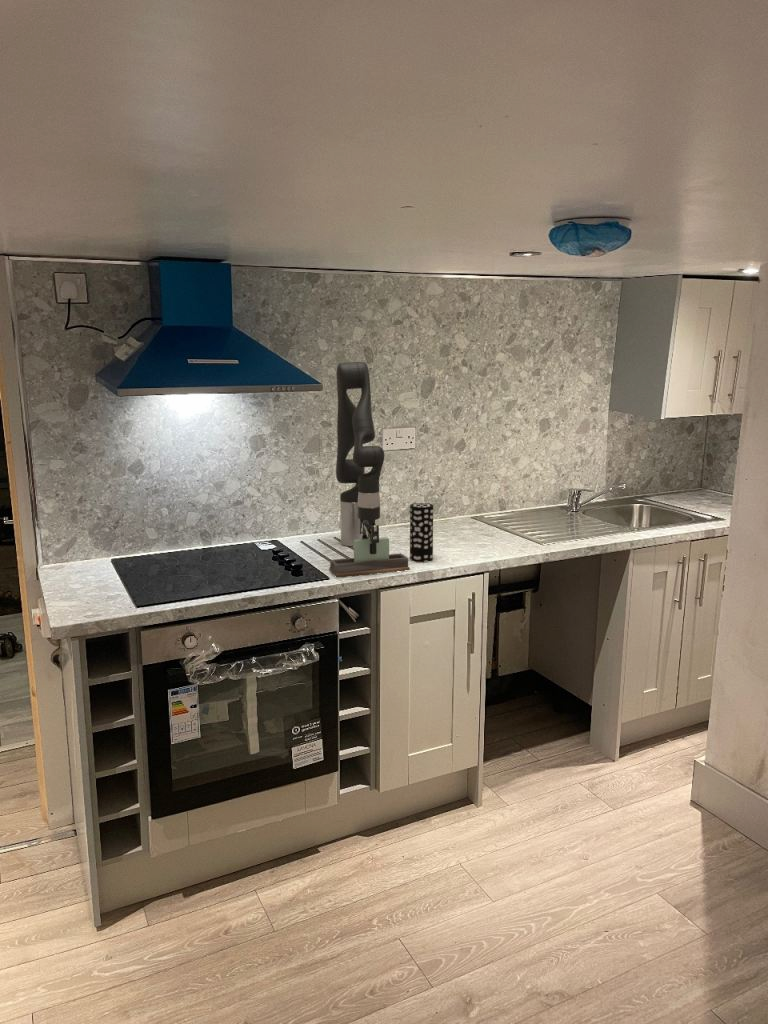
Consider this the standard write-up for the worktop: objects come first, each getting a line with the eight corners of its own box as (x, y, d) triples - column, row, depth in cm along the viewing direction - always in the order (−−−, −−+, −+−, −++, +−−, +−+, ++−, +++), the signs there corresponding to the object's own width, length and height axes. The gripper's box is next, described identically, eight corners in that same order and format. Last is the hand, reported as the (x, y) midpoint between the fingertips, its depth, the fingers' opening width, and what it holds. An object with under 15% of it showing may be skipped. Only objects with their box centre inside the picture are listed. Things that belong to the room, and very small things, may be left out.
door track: (329, 569, 269) (328, 558, 269) (399, 563, 278) (399, 552, 277) (336, 578, 260) (336, 566, 259) (409, 570, 268) (409, 559, 268)
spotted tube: (406, 557, 285) (406, 504, 280) (427, 555, 288) (427, 502, 283) (415, 563, 277) (415, 508, 273) (436, 561, 280) (437, 506, 276)
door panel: (353, 568, 268) (353, 539, 266) (386, 564, 272) (386, 537, 270) (355, 569, 266) (355, 541, 264) (389, 566, 270) (389, 538, 268)
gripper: (352, 501, 269) (352, 546, 273) (364, 509, 256) (365, 557, 260) (372, 500, 272) (373, 545, 275) (386, 508, 259) (386, 555, 262)
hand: (369, 550), depth 268 cm, fingers open, 8 cm apart
